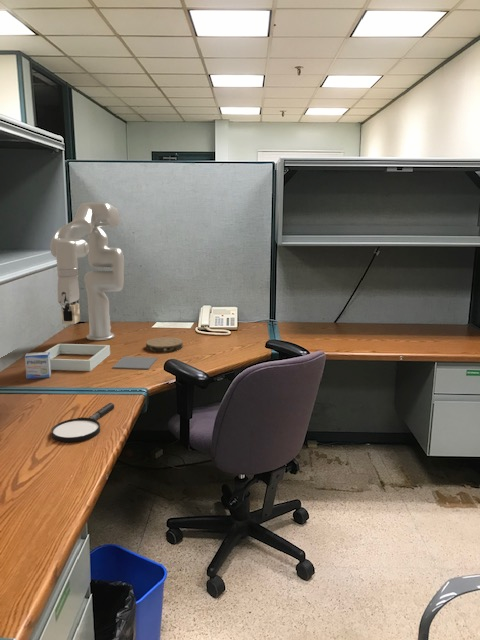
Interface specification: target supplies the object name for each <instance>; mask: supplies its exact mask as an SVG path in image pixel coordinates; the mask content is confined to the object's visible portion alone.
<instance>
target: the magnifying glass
mask: <svg viewBox="0 0 480 640" xmlns="http://www.w3.org/2000/svg"><path fill="white" fill-rule="evenodd" d="M114 409H115V404H114V403H112V402H108V404H106V405H104V406H103V407H101V408H100V409H98V410H97V411H95V413H93V414H92V415H91V416H89V417H84V416H83V417H78V418H70V419H67V420H63V421H60V422H58V423H57V424H55V425H54V426H53V427H52V428H51V432H50V433H51V438H52V439H53V440H54V441H56V442H59V443H65V444H75V443H81V442H85V441H89V440H91V439H94V438H95V437H97V436H98V435H99V434H100V432H101V424H100V422H99V421H98V420H99V419H101V418H102V417H104V416H106V415H107V414H108V413H109V412H111V411H112V410H114Z"/></svg>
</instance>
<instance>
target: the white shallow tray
mask: <svg viewBox="0 0 480 640" xmlns="http://www.w3.org/2000/svg"><path fill="white" fill-rule="evenodd" d="M44 352H49V353H50V368H51V371H54V370H55V371H80V372H91V371H93V370H94V369H95V368H96V367H97V366H98V365H100V363H102V362H103V361H104V360H105V359H106V358H108V357H109V356H111V346H110V344H85V343H84V344H81V343H79V344H78V343H76V344H75V343H57V344H56V345H54V346H52V347H51V348H49V349H47V350H45V351H44ZM63 354H67V355H92V356H91V357H90V358H89V359H75V358H73V359H67V358H56V357H57V356H59V355H63Z"/></svg>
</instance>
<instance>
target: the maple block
mask: <svg viewBox="0 0 480 640" xmlns="http://www.w3.org/2000/svg"><path fill="white" fill-rule="evenodd" d="M67 306H68V305H67ZM60 307H61V320H62V321H61V323H62V324H67V325H69V324H71V325H72V324H73V325H75V324H77V323H79V322H80V321H81V314H80V311H81V310H80V303H78V304H76V303H71V311H72V321H64V317H63V310H62V309H63V308H62V306H61V305H60Z"/></svg>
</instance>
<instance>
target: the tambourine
mask: <svg viewBox="0 0 480 640" xmlns="http://www.w3.org/2000/svg"><path fill="white" fill-rule="evenodd" d="M145 343H146V344H145V346H146V347H145V349H146V350H147V351H148V352H152V353H165V354H166V353H173V352H178V351H180V350H182V349H183V348H182V347H184V346H183V339H180V338H177V337H173V336H171V337H169V336H165V337H164V336H163V337H154V338H150V339H148V340H146V341H145ZM181 348H182V349H181ZM177 350H178V351H177Z"/></svg>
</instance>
